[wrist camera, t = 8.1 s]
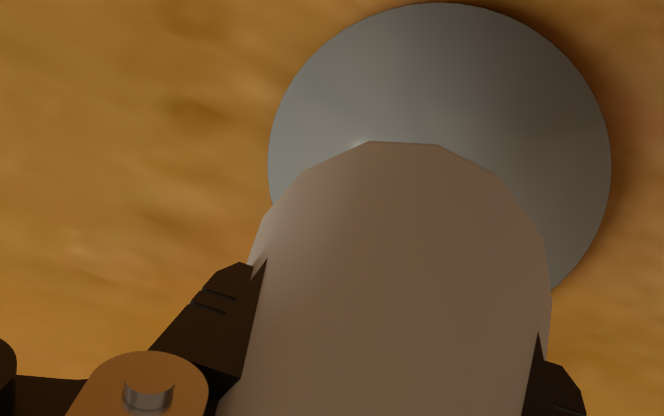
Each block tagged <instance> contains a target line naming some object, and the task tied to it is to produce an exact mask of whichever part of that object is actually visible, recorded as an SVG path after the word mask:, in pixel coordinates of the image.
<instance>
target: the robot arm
mask: <svg viewBox="0 0 664 416" xmlns="http://www.w3.org/2000/svg"><path fill="white" fill-rule="evenodd" d="M267 259H268V258H267ZM267 259H266V260H265V262H264V263H263V264H262V266H261V267H260V268H259V270H258V271H257V273H256V274H255V275H254V277H253V278H252V279H251V276H252V272H253V268H254V266H251V265H247V264H244V263H241V262H238V263H236V264H233V265H231V266H229V267H226V268H224V269H222V270H219V271H217V272H216V273H215V274H214V275H213V276H212V277H211V278H210V279H209V281H208V282H207V283H206V284H205V285H204V286H203V288H202V291H199V292H198V293H197V294H196V295H195V297H194V298H193V299H192V300H191V302H190V305H189V304H188V305H187V306H186V307H185V308H184V309H183V310H182V311H181V313H180V314H179V315H178V316H177V317H176V318H175V319H174V321H173V322H172V323H171V324H170V325H169V326H168V327H167V329H166V330H165V331H164V332H163V333H162V334H161V335H160V337H159V338H158V339H157V340H156V341H155V342H154V343H153V345H152V346H151V347H150V348H149V349H148V350H147V351H135V352H129V353H125V354H121V355H118V356H115V357H113V358H111V359H109V360H107V361H105V362H104V363H102V364H101V365H100V366H98V367H97V368H96V369H95V370H94V371H93V373H92V374H91V375H90V377H89V378H88V379H82V380H70V379H56V378H45V377H35V376H24V375H16V372H17V360H16V355H15V353H14V351H13V349H12V348H11V347H10V346H9V344H7V343H6V342H5V341H3V340H2V339H0V416H215V414H216V410H217V406H218V403H219V400H220V399H221V398H222V397H223V396H224V395H225V394H226V393H227V392H228V391H229V390H230V389H231V388H232V387H233V386H234V385H235V384H236V383H237V382H238V381H239V380H240V379H241V377H242V372H243V368H244V363H245V358H246V354H247V349H248V345H249V340H250V336H251V331H252V327H253V322H254V318H255V313H256V309H257V304H258V299H259V295H260V290H261V286H262V281H263V277H264V272H265V268H266V263H267ZM250 279H251V281H250ZM586 415H587V414H586V410H585V406H584V402H583V399H582V395H581V391H580V389H579V388H578V387H577V385H576V384H575V383H574V382H573V380H572V379H571V378H570V376H569V375H568V374H567V372H566V371H565V370H564V368H563V367H562V366H560V365H557V364H554V363H551V362H548V361H545V360H544V357H543V352H542V347H541V342H540V337H539V332H538V333H537V338H536V343H535V348H534V353H533V358H532V363H531V368H530V373H529V378H528V383H527V388H526V393H525V398H524V403H523V407H522V412H521V416H586Z"/></svg>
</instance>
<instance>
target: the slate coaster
mask: <svg viewBox="0 0 664 416" xmlns="http://www.w3.org/2000/svg"><path fill="white" fill-rule="evenodd" d="M367 141H384V142H403V143H421V144H438V145H440V146H442V147H444V148H445V149H447V150H449V151H451V152H453V153H455V154H457V155H459V156H461V157H463V158H465V159H467V160H469V161H471V162H473V163H475V164H477V165H479V166H481V167H483V168H485V169H487V170H488V171H490V172H492V173H494V174H496V175H498V176H499V178H500V179H501V180H502V182H503V183H504V184H505V186H506V187H507V189H508V190H509V191H510V193H511V194H512V195H513V197H514V198H515V199H516V201H517V202H518V204H519V205H520V206H521V208H522V209H523V210H524V212H525V213H526V215H527V216H528V217H529V219H530V220H531V221H532V223H533V224H534V225H535V227H536V228H537V230H538V231H539V232H540V234H541V235H542V237H543V239H544V246H545V254H546V261H547V268H548V275H549V283H550V290H552V289H553V288H554V287H556V286H557V285H558V284H559V283H561V281H562V280H563V279H564V278H565V277H566V276H567V275H568V274H569V273H570V272H571V271H572V270H573V269H574V268H575V267H576V265H577V264H578V262H579V261H580V260H581V258H582V257H583V256H584V254H585V253H586V251H587V250H588V248H589V246H590V245H591V243H592V241H593V239H594V237H595V235H596V233H597V231H598V229H599V227H600V224H601V221H602V218H603V216H604V213H605V210H606V206H607V201H608V196H609V192H610V185H611V169H612V163H611V151H610V141H609V137H608V133H607V129H606V124H605V120H604V118H603V115H602V113H601V110H600V108H599V105H598V103H597V100H596V98H595V96H594V94H593V93H592V91H591V89H590V87H589V86H588V84H587V82H586V81H585V79H584V77H583V76H582V75H581V74H580V72H579V71H578V70H577V69H576V67H575V66H574V65H573V64H572V62H571V61H570V60H569V59H568V58H567V57H566V56H565V55H564V54H563V53H562V52H561V51H560V50H559V49H558V48H557V47H556V46H554V45H553V44H552V43H551V42H550V41H549V40H547V39H546V38H545V37H543V36H542V35H540V34H539V33H537V32H536V31H534V30H533V29H531V28H530V27H529V26H527V25H525V24H523V23H521V22H519V21H517V20H515V19H513V18H511V17H509V16H507V15H504V14H501V13H498V12H495V11H492V10H489V9H486V8H483V7H477V6H472V5H467V4H461V3H444V2H431V3H420V4H411V5H406V6H402V7H398V8H393V9H389V10H386V11H383V12H381V13H378V14H375V15H373V16H370V17H368V18H365V19H363V20H361V21H359V22H357V23H355V24H353V25H352V26H350V27H348V28H346V29H344V30H343V31H341V32H340V33H339V34H337V35H336V36H334V37H333V38H332V39H330V40H329V41H328V42H326V43H325V44H324V45H323V46H322V47H321V48H320V49H319V50H318V51H316V52H315V53H314V54H313V55H312V56H311V57H310V58H309V59H308V60H307V62H306V63H305V64H304V66H303V67H302V68H301V69H300V71H299V72H298V73H297V74H296V76H295V77H294V79H293V80H292V82H291V84H290V86H289V87H288V89H287V91H286V92H285V94H284V96H283V98H282V101H281V103H280V106H279V108H278V110H277V113H276V115H275V119H274V123H273V126H272V130H271V134H270V141H269V148H268V181H269V189H270V196H271V199H272V203H273V205H274V204H275V202H276V201H277V200H278V199H279V198H280V197H281V195H282V194H283V193H284V192H285V191H286V190H287V188H288V187H289V186H290V185H291V184H292V183H293V181H294V180H295V179H296V178H297V177H298V176H299V174H300V173H301V172H302V171H303V170H305V169H307V168H310V167H312V166H314V165H316V164H319V163H321V162H323V161H325V160H327V159H330V158H332V157H334V156H336V155H339V154H341V153H343V152H345V151H347V150H350V149H352V148H354V147H356V146H359V145H361V144H363V143H365V142H367Z"/></svg>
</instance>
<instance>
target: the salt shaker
mask: <svg viewBox="0 0 664 416" xmlns="http://www.w3.org/2000/svg"><path fill="white" fill-rule="evenodd" d="M267 258H268V259H267ZM266 259H267V263H266V268H265V272H264V277H263V281H262V286H261V290H260V295H259V299H258V304H257V309H256V313H255V318H254V322H253V327H252V331H251V336H250V340H249V345H248V349H247V354H246V358H245V363H244V368H243V372H242V377H241V379H240V380H239V381H238V382H237V383H236V384H235V385H234V386H233V387H232V388H231V389H230V390H229V391H228V392H227V393H226V394H225V395H224V396H223V397H222V398H221V399H220V400H219V403H218V406H217V410H216V414H215V416H521V412H522V407H523V403H524V398H525V393H526V388H527V383H528V378H529V373H530V368H531V363H532V358H533V353H534V348H535V343H536V338H537V333H538V332H539V337H540V342H541V347H542V352H543V357H544V360H545V361H546V357H547V347H548V337H549V327H550V317H551V308H552V297H551V290H550V283H549V275H548V268H547V261H546V254H545V246H544V239H543V237H542V235H541V234H540V232H539V231H538V230H537V228H536V227H535V225H534V224H533V223H532V221H531V220H530V219H529V217H528V216H527V215H526V213H525V212H524V210H523V209H522V208H521V206H520V205H519V204H518V202H517V201H516V199H515V198H514V197H513V195H512V194H511V193H510V191H509V190H508V189H507V187H506V186H505V184H504V183H503V182H502V180H501V179H500V178H499V176H498V175H496V174H494V173H492V172H490V171H488V170H487V169H485V168H483V167H481V166H479V165H477V164H475V163H473V162H471V161H469V160H467V159H465V158H463V157H461V156H459V155H457V154H455V153H453V152H451V151H449V150H447V149H445V148H444V147H442V146H440V145H438V144H421V143H403V142H384V141H367V142H365V143H363V144H361V145H359V146H356V147H354V148H352V149H350V150H347V151H345V152H343V153H341V154H339V155H336V156H334V157H332V158H330V159H327V160H325V161H323V162H321V163H319V164H316V165H314V166H312V167H310V168H307V169H305V170H303V171H302V172H301V173H300V174H299V176H298V177H297V178H296V179H295V180H294V181H293V183H292V184H291V185H290V186H289V187H288V188H287V190H286V191H285V192H284V193H283V194H282V195H281V197H280V198H279V199H278V200H277V201H276V202H275V204H274V205H273V206H272V207H271V208H270V209H269V211H268V212H267V213H266V214H265V215H264V217H263V218H262V221H261V224H260V227H259V229H258V232H257V235H256V238H255V241H254V244H253V247H252V250H251V252H250V255H249V258H248V261H247V265H251V266H254V268H253V272H252V276H251V279H252V278H253V277H254V275H255V274H256V273H257V271H258V270H259V268H260V267H261V266H262V264H263V263H264V262H265V260H266ZM251 279H250V281H251Z"/></svg>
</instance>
